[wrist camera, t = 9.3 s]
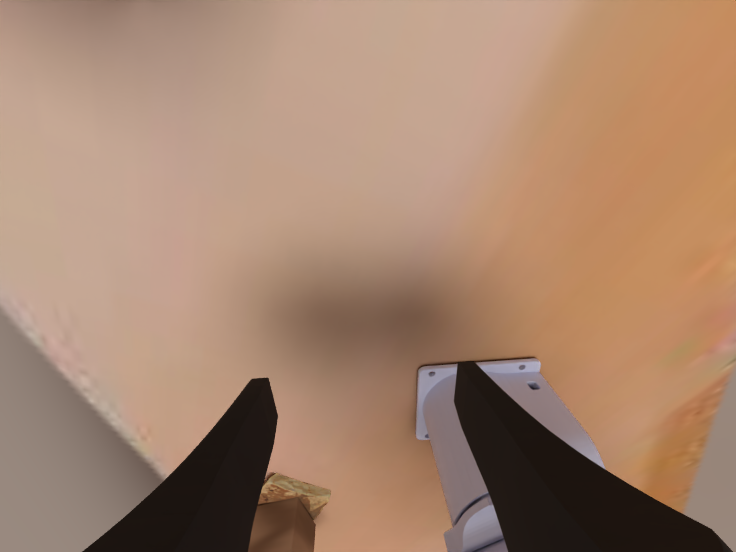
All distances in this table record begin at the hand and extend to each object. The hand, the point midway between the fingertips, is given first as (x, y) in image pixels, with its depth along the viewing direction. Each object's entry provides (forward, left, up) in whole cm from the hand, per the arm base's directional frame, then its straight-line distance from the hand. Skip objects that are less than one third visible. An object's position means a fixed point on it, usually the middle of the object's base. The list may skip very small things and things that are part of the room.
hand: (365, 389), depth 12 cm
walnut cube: (+9, +24, -8) cm, 27 cm away
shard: (+7, +25, -10) cm, 28 cm away
